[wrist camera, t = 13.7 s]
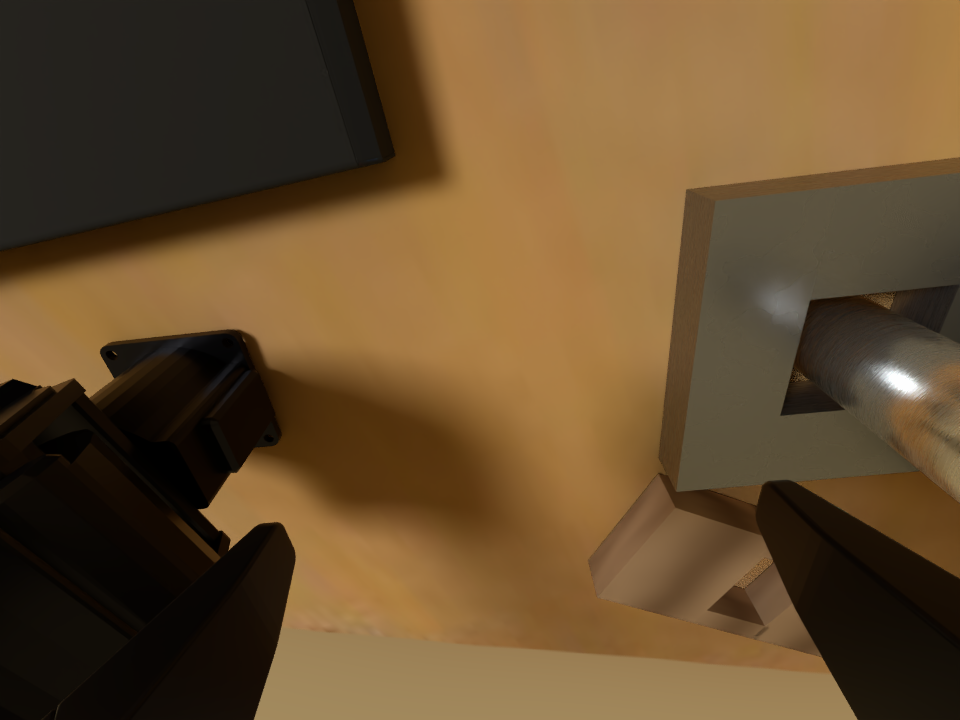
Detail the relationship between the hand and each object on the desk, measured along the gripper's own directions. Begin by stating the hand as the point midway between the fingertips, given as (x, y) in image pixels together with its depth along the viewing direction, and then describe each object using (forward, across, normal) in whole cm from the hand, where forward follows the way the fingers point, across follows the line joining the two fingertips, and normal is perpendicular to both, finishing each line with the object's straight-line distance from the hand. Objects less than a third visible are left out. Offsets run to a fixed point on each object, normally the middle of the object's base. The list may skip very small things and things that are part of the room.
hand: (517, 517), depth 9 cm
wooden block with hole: (+13, -14, +20) cm, 28 cm away
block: (+13, -15, +4) cm, 20 cm away
